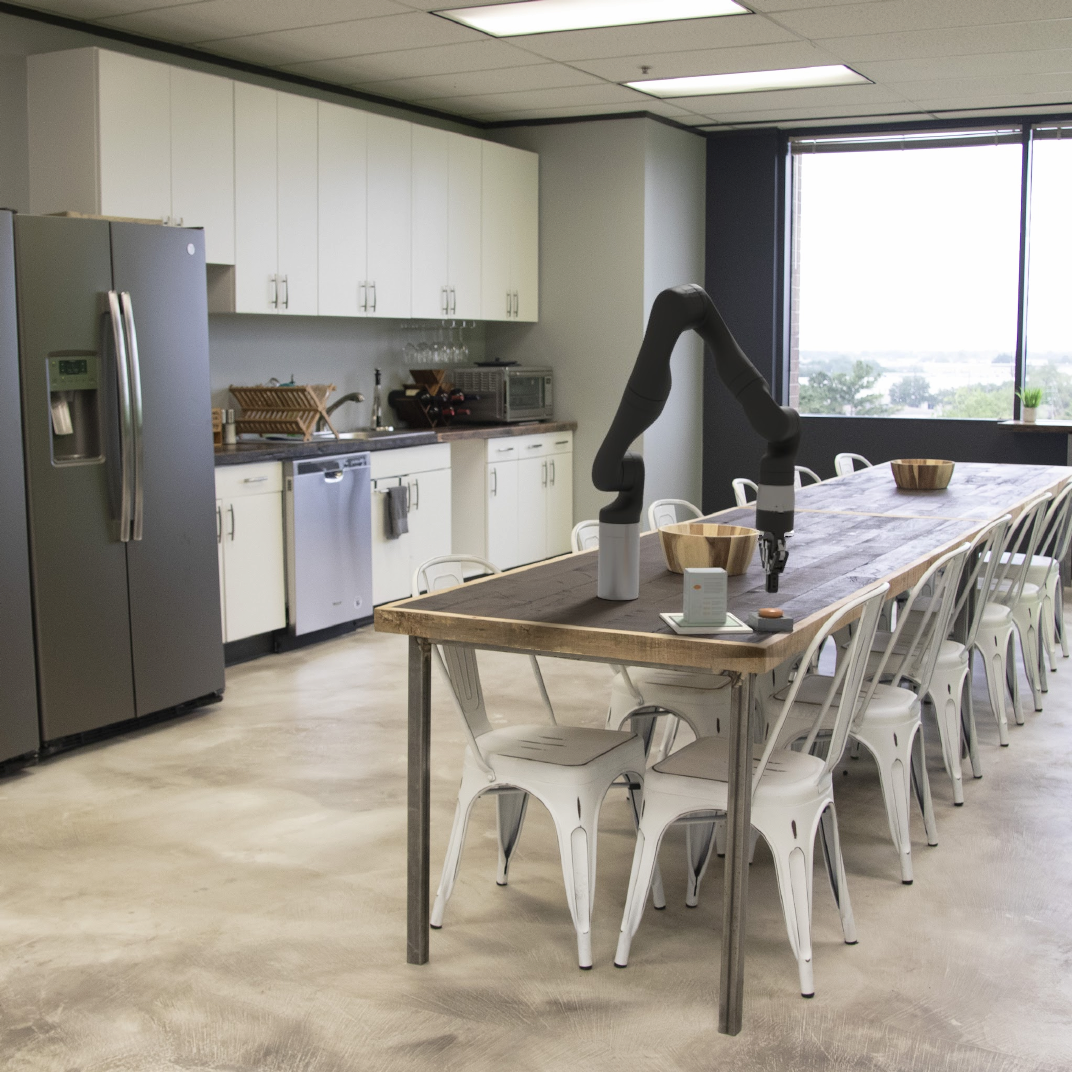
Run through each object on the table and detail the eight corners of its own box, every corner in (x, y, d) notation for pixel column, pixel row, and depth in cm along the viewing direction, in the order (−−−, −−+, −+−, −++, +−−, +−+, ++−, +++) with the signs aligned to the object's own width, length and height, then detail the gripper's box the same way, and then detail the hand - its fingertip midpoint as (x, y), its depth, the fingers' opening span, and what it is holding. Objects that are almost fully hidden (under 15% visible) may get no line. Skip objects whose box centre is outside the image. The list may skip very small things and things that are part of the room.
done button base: (748, 624, 260) (748, 612, 260) (782, 623, 261) (782, 611, 260) (757, 631, 253) (758, 619, 253) (793, 631, 254) (793, 618, 253)
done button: (755, 622, 259) (755, 608, 259) (778, 622, 259) (778, 608, 259) (762, 627, 254) (762, 612, 254) (785, 627, 255) (786, 612, 254)
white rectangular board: (659, 616, 267) (659, 612, 267) (729, 615, 269) (729, 611, 269) (678, 634, 250) (678, 630, 250) (752, 633, 251) (753, 629, 251)
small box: (720, 617, 263) (722, 567, 261) (726, 623, 257) (728, 571, 256) (682, 618, 262) (683, 567, 261) (687, 623, 257) (689, 571, 255)
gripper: (747, 502, 260) (744, 586, 262) (766, 511, 247) (763, 599, 249) (783, 502, 261) (779, 586, 263) (804, 511, 248) (800, 598, 250)
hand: (771, 592), depth 256 cm, fingers closed
